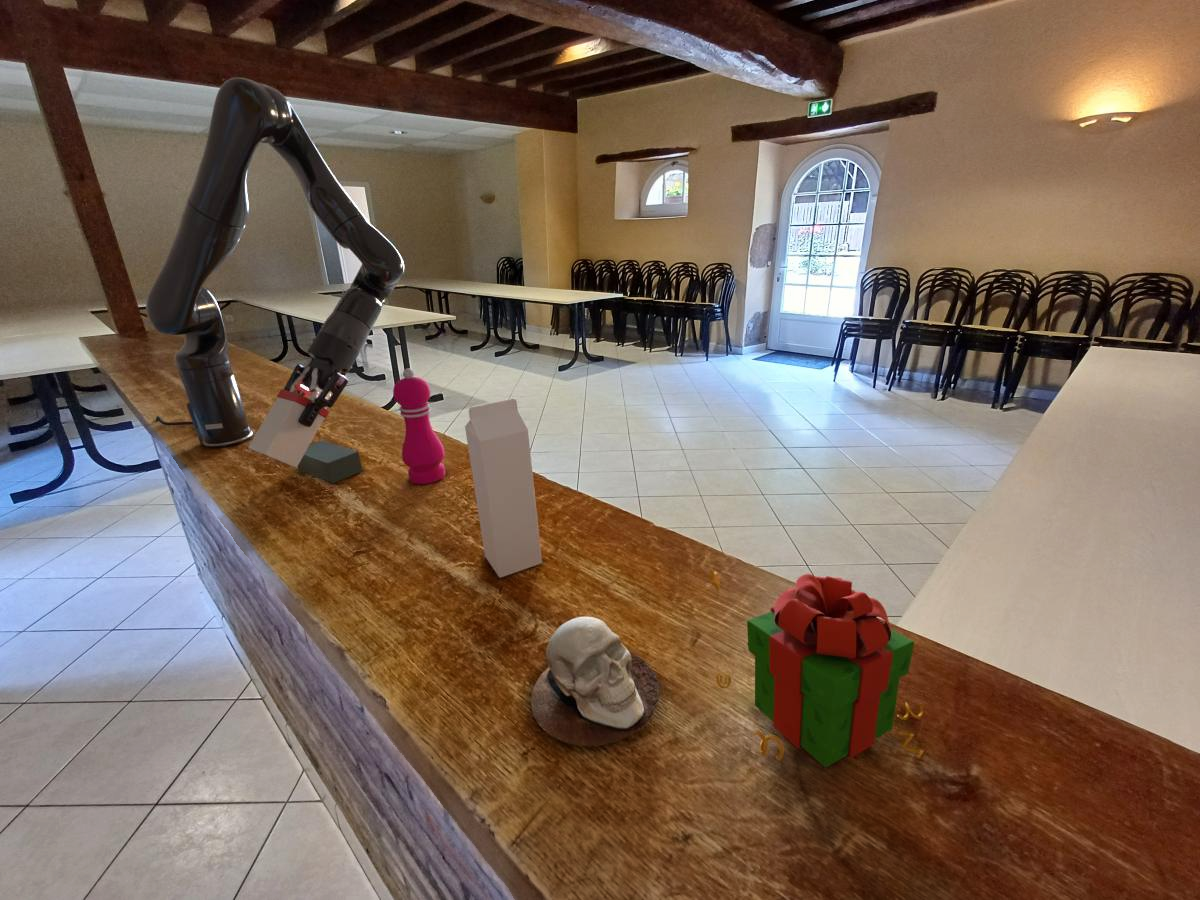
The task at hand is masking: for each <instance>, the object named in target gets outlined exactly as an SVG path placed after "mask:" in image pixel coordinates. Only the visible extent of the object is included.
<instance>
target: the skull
mask: <svg viewBox="0 0 1200 900" xmlns="http://www.w3.org/2000/svg"><path fill="white" fill-rule="evenodd" d="M545 659H546V664H547V668H545V670H544V671H543V672H542V673H541V674H540V676H539V677H538V679H537V680H536V682H535V684H534V686H533V689H532V692H531V697H530V707H531V713H532V715H533V718H534V719H535V721H536V723H537V724H538V726H539V727H540V728H541V729H542V730H543V731H544V732H545V733H546V734H548V735H550V736H551V737H553V738H554V739H556V740H558V741H560V742H563V743H566V744H569V745H573V746H579V747H580V746H581V747H582V746H583V747H584V746H585V747H589V746H591V747H595V746H602V745H608V744H612V743H615V742H618V741H622V740H623V739H625V738H628V737H629V736H631V735H633V734H634V733H636V732H638V731H639V730H641V729H642V728H643V727H644V726H645V725H646V724H647V723H648V722H650V721H649V720H651V718H652V716H653V715H654V713H655V711H656V709H657V707H658V704H659V699H660V685H659V680H658V677H657V676H656V674H655V671H654V670H653V669H652V667H650V665H649V664H648V663H647V662H645V661H644V659H642V658H641V657H639V656H638V655H636V654H633V653H631V652H630V651H629V650H628V648H627V647H626V646H625V645H624V644H623V643H622V640H621V638H620V636H619V635H618V634H616V633H615V632H613V631H612V630H611V629H610V627H609V626H608V625H607V624H606V623H605V622H604V621H603V620H602V619H599V618H597V617H593V616H577V617H575V618H572V619H570V620H568V621H565V622H564V623H562V624H561V625H560V626H559V627H558V628H557V629H556V630H555V631H554V633H553V634H552V636H551V638H550V639H549V641H548V643H547V646H546V650H545Z"/></svg>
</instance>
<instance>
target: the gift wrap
mask: <svg viewBox="0 0 1200 900" xmlns="http://www.w3.org/2000/svg"><path fill="white" fill-rule="evenodd" d="M709 572H710V577H711V584H710V585H713V586H714V588H715V590H716V592H717V593H718V592H719V590H720V584H721V581H720V579H719V575H718V572H717V571H711V570H709ZM852 587H853V582H852V581H851V580H845V579H843V578H842V577H836V576H835V577H833V576H829V575H826V576H816V575H815V576H814V574H811V573H805V574H802V575H801V576H799V577H798V578H797V579H796V581H795V587H792V588H790V589H787V590H785V591H783V592H782V593H781V594H780V595H778V597H777V598H776V600H775V604H774V606H773V607H770V611H769V612H766V613H764V614H761V615H758V616H755V617H753V618H750V619H747V621H746V626H747V627H746V628H747V642H746V645H747V651H748V652H749V654H751V655H752V656H753V658H754V706H755V707H756V708H757V709H758V710H759V711H761V713H762V714H764V715H765V716H766V717H767V718H768V719H770V720H771V722H773V728H774V729H776V730H777V731H778V732H779V733H780V734H781V735H782V736H784V737H785V738H786V739H787V740H788V741H789V742H790V743H791V744H793V745H794V746H795V747H796V748H797V749H798V750H800V749H802V748H803V749H804V750H805V751H806V752H807V753H808V754H809V755H810V756H812V757H813V758H814V759H815V760H817V761H818V762H819V763H820V764H821V765H822V766H823V767H824V768H827V767H829V766H831V765H833V764H834V763H836V762H838V761H840V760H842V759H843V758H845V757H846V758H848V759H851V758H853V757H855V756H857V755H858V754H860V753H862V752H864V751H865V750H867V749H869V748H870V747H872V746H874V744H875V740H876V739H877V738H880V737H881V736H882V735H885V734H886V733H888V732H890V731H891V730H893V726H894V719H895V712H896V705H897V698H898V692H899V685H900V679H901V678H902V677H904V676H906V675H908V674H909V672H910V667H911V662H912V661H911V660H912V658H913V657H912V656H913V651H914V646H915V641H913V640H912V639H910V638H908V637H906V636H904V635H902V634H901V633H899V632H897V631H895V630H893V629H891V625H890V621H889V618H888V613H887V611H886V609H885V607H884V606H883V604H882V603H881V602H880V601H879V600H878V599H876V598H872V597H869V595H868V594H867V593H865V592H864V591H858V592H857V591H856V590H854V589H852ZM877 617H878V618H877ZM881 619H882V620H881ZM723 677H724V678H723ZM723 679H724V684H725V685H722V684H721V683H723ZM715 682H716V684H717V686H718V687H719V688H720V689H727V688H729V687H730V685H731V683H732V677H731V675H730V674H726V675H725V676H723V674H722V673H721V672H719V673H717V674H716V677H715ZM904 705H905V715H904V716H902V715H901V714H897V715H896V717H898V718H899V720H902V721H906V720H907V719H908V718H909V714H910V715H911V716H912V717H913V718H915V719H921V718H922V717H923V715H924V703H923V702H922V701H919V706H920V707H919V708H920V709H919V711H920V712H919V713H918V714H915V713H914V712H913V711H912V709H911V708H910V705H909V704H908V702H905V704H904ZM753 734H755V735H757V736H759V737H760V739H761V741H760V743H759V754H760V756H761V757H765V756H766V755H767V754H768V748H769V747H768V741H769V740H774V741H775V742H776V744H777V746H778V749H779V754H777V755H775V757H776V760H777V761H778V762H779V761H780V762H781V761H782V760H783V757H784V753H785V752H784V745H783V742H782V741H781V739H780V738H779V736H777V735H775V734H773V733H770V734H767V735H765V734H764V733H763V731H760V730H758V729H754V732H753ZM897 734H898V735H901V736H908V737H907V738H906V739H905V740H904V741H903V744H902V745H901V749H902V750H903V751H907V752H911V753H917V754H916V757H917V759H918V760H919V759H920V758H921V757H922V755H923V754H924V753H925V751H924V750H923V749H919V748H911V747H907V745H908V744H909V743H910V742H911V740H912V739H913V738H914V736H915V734H914V733H913V732H907V731H900V730H898V732H897Z"/></svg>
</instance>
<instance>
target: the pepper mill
mask: <svg viewBox="0 0 1200 900" xmlns="http://www.w3.org/2000/svg"><path fill="white" fill-rule="evenodd" d="M402 376H403V378H401V379H400V380H398V381H397V382H396V383H395V384H394V386H393V391H392V394H393V399H394V401H395V402H396V403H397V404H398V405H400V406H399V408H398V409H399V411H400V413H399V414H400V416H401V417H403V421H404V424H405V436H404V440H403V443H402V447H401V448H402V449H401V458H402V462H403V464H404V465H405V466H407V467H408V470H407V473H408V479H409V481H410V483H413V484H416V485H426V484H433V483H435V482H438V481H440V480H442V479H443V478H444V477H445V476H446V469H445V465H444V463H442V461H443V460H444V459H445V455H446V454H445V453H446V452H445V449H444V445H443V444H442V441H441V439H440V438H439V437H438V436H437V434H436V433H435V430H434V429H433V426H432V425H431V420H430V413H431V404H430V403H429V402H428V401H429V399H430V398H431V388H430V385H429V384H428V382H427V381H426V380H425V379H423V378H421V377H418V376H415V372H414V370H413V369H411V368H405V369H404V370H403V371H402Z"/></svg>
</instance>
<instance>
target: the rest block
mask: <svg viewBox="0 0 1200 900" xmlns="http://www.w3.org/2000/svg"><path fill="white" fill-rule="evenodd" d="M362 466H363V465H362V461H361V457H360V453H359V451H357V450H355V449H351V448H348V447H345V446H343V445H342V446H341V445H338V444H335V443H332V442H329V441H326V440H324V439H323V440H320V441H317V442H313V443H310V445H309V447H308V448H307V450H306V452H305V454H304V455H303V457H302V459H301V461H300V463H299V464H298V466H297V470H298V471H301V472H303V473H305V474H308V475H311V476H313V477H316V478H319V479H321V480H324V481H325V482H329V483H331V484H336V483H337V482H340V481H342V480H345V479H347V478H350V477H352V476H354V475H357V474H359V473H361V472H364V469H363V467H362Z"/></svg>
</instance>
